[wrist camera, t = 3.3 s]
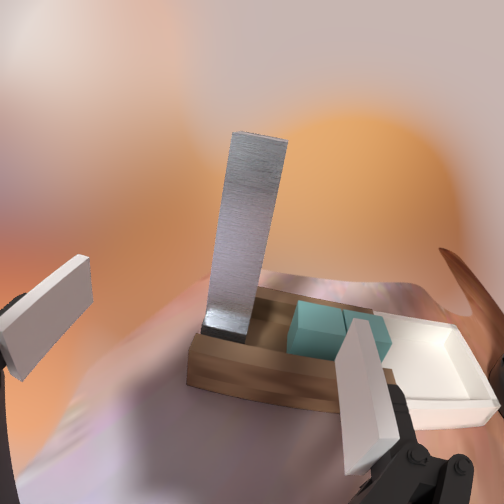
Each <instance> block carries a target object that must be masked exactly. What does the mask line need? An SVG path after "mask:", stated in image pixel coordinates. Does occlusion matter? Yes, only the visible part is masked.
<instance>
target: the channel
mask: <svg viewBox="0 0 504 504" xmlns="http://www.w3.org/2000/svg"><path fill="white" fill-rule="evenodd" d="M298 300H300V301H305V302H309V303H314V304H319V305H325V306H330V307H335V308H340V309H341V311H343V309H345V310H350V311H356V312H361V313H367V314H372V315H374V313H373V310H372V309H367V308H362V307H357V306H352V305H347V304H341V303H336V302H331V301H326V300H321V299H316V298H311V297H306V296H302V295H297V294H292V293H287V292H282V291H278V290H273V289H268V288H264V287H259V286H257V291H256V295H255V300H254V304H253V309H252V313H251V318H250V322H249V327H248V331H247V336H246V340H245V344H240V343H235V342H231V341H227V340H222V339H218V338H214V337H210V336H206V335H202V334H198V333H196V335H195V337H194V339H193V341H192V344H191V346H190V348H189V353H188V368H187V384H186V385H189V386H193V387H196V388H200V389H204V390H208V391H212V392H216V393H221V394H225V395H229V396H234V397H238V398H243V399H248V400H253V401H258V402H263V403H268V404H274V405H280V406H286V407H292V408H299V409H306V410H313V411H321V412H330V413H339V414H340V405H339V395H338V386H337V377H336V368H335V361H329V360H323V359H317V358H311V357H305V356H299V355H294V354H288V353H286V352H287V335H288V332H289V328H290V325H291V322H292V319H293V316H294V312H295V309H296V306H297V303H298ZM383 372H384V375H385V379H386V383H387V384H395V385H396V381H395V378H394V374H393V371H392V369H389V368H383Z"/></svg>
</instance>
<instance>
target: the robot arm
mask: <svg viewBox="0 0 504 504" xmlns="http://www.w3.org/2000/svg"><path fill="white" fill-rule="evenodd" d="M92 303H93V294H92V284H91V273H90V259H89V257H86V256H83V255H79V254H77V255H76V256H75V257H73V258H72V259H71V260H69V261H68V262H66V263H65V264H64V265H63V266H61V267H60V268H59V269H57V270H56V271H55V272H53V273H52V274H51V275H50V276H48V277H47V278H46V279H45V280H43V281H42V282H41V283H40V284H38V285H37V286H36V287H35V288H33V289H32V290H31V291H30V292H29V293H24V294H21V295H19V296H17V297H15V298H14V299H13V300H12V301H11V302H9V304H7V305H6V306H5V307H4V308H3V309H1V310H0V504H20V502H19V498H18V494H17V489H16V485H15V480H14V475H13V470H12V464H11V457H10V451H9V442H8V434H7V424H6V409H5V380H4V379H5V376H4V371H3V368H4V367H5V366H6V365H7V367H8V370H9V372H10V374H11V375H12V376H14V377H15V378H17V379H18V380H20V381H22V382H23V380H24V379H25V378H26V377H27V375H28V374H29V373H30V372H31V371H32V370H33V369H34V367H35V366H36V365H37V364H38V362H39V361H40V360H41V359H42V358H43V357H44V356H45V355H46V353H47V352H48V351H49V350H50V349H51V348H52V346H53V345H54V344H55V343H56V342H57V341H58V340H59V339H60V337H61V336H62V335H63V334H64V333H65V332H66V331H67V330H68V329H69V328H70V326H71V325H72V324H73V323H74V322H75V321H76V320H77V319H78V318H79V317H80V316H81V314H83V312H84V311H85V310H86V309H87V308H88V307H89V306H90V305H91V304H92ZM335 368H336V377H337V386H338V395H339V405H340V415H341V427H342V439H343V453H344V469H345V475H364V474H365V473H366V472H367V471H369V470H370V469H371V478H370V479H369V480H367V481H366V482H365V483H364V484H363V485H362V486H361V487H359V488H361V489H360V490H359V491H358V493H357V494H356V495H355V496H354V497H353V498H352V499H351V500H350V502H349V503H348V504H469V501H470V495H471V489H472V482H473V475H474V466H473V464H472V461H471V460H470V459H469V458H468V457H467V456H465V455H463V454H456V455H453V456H452V457H451V458H450V459H449V460H444V459H440V458H436V457H432V456H430V454H429V452H428V450H427V449H426V448H425V447H424V446H423V445H421V444H419V443H418V442H417V439H416V435H415V431H414V427H413V423H412V420H411V416H410V414H409V409H408V406H407V402H406V398H405V395H404V393H403V392H402V390H401V389H400V388H399V386H398V385H395V384H387V383H386V379H385V375H384V372H383V368H382V364H381V361H380V357H379V354H378V350H377V347H376V344H375V340H374V337H373V334H372V331H371V327H370V324H369V321H368V320H363V319H357V318H353V320H352V323H351V325H350V327H349V330H348V332H347V334H346V336H345V339H344V341H343V343H342V345H341V348H340V350H339V352H338V354H337V356H336V358H335ZM489 384H490V386H491V387H492V389H493V391H494V393H495V395H496V397H497V399H498V401H499V403H500V405H501V407H500V408H499V411H500V412H501V414H502V415H503V417H504V354H503V355H502V356H501V357H500V359H499V360H498V362H497V363H496V364H495V366H494V367H493V369H492V370H491V373H490V376H489Z"/></svg>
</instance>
